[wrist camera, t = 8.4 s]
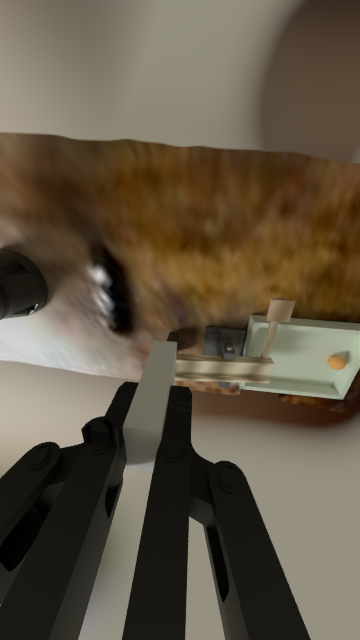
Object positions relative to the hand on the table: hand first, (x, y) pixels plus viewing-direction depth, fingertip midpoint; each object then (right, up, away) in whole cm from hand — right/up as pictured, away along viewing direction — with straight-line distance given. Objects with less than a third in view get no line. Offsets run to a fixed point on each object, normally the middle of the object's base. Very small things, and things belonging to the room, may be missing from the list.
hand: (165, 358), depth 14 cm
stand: (+7, -3, +36) cm, 37 cm away
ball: (+36, -7, +32) cm, 49 cm away
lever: (+9, -1, +26) cm, 28 cm away
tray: (+28, -5, +34) cm, 45 cm away
